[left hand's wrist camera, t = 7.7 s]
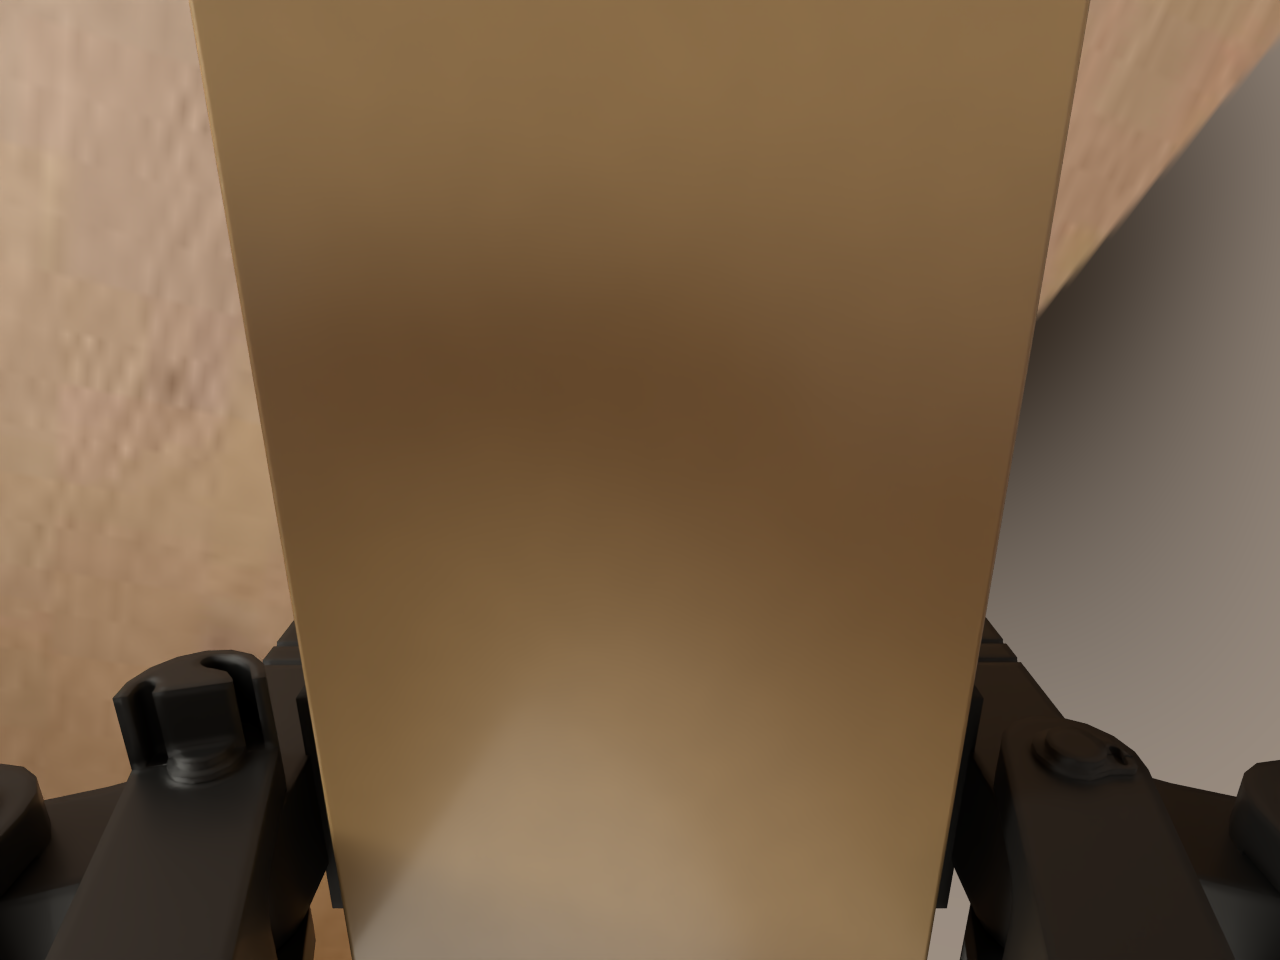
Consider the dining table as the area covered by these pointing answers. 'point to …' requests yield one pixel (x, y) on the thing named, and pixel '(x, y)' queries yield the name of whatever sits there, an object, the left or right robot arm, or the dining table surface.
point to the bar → (639, 444)
